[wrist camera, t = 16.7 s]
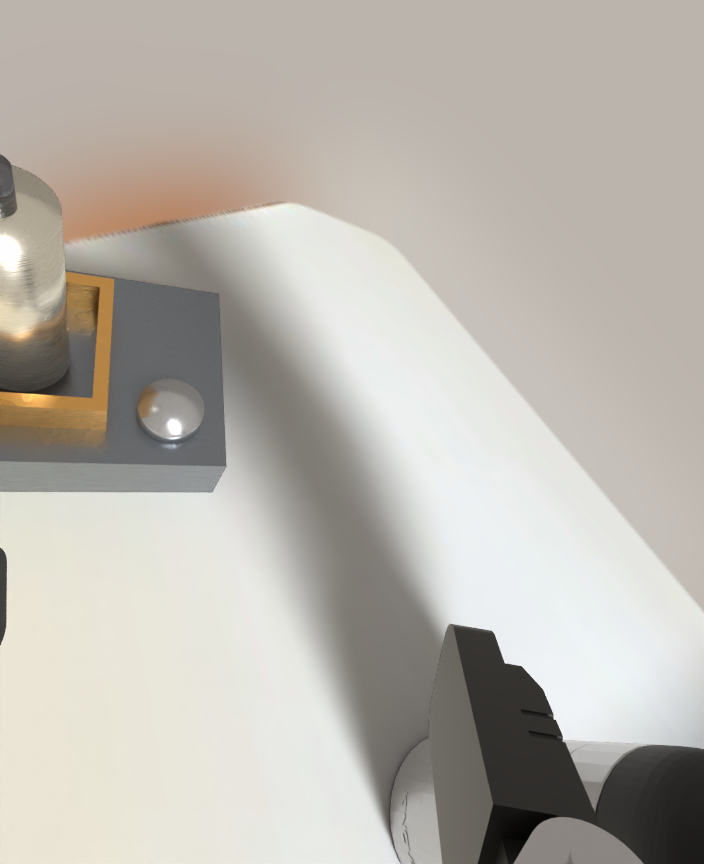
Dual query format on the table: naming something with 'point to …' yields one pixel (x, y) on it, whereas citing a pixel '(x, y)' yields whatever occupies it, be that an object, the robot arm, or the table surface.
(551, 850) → the robot arm
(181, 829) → the table surface
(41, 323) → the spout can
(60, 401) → the grey base with tray
